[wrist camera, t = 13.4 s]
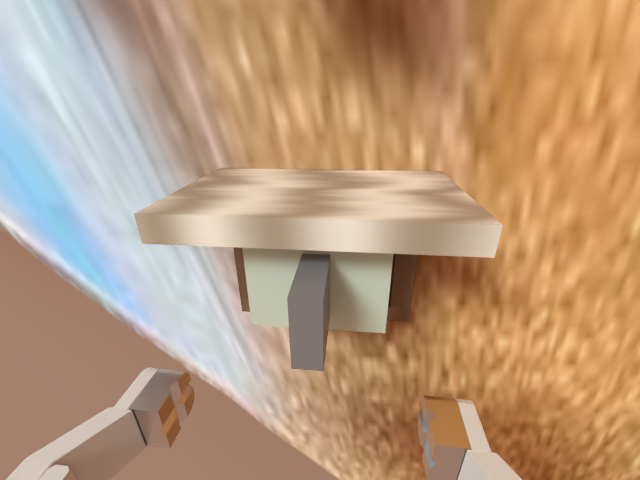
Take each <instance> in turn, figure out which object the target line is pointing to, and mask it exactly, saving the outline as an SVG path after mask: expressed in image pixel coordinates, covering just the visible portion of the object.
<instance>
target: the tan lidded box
mask: <svg viewBox="0 0 640 480" xmlns="http://www.w3.org/2000/svg"><path fill="white" fill-rule="evenodd" d="M134 215H135V219H136V223H137V226H138V230H139V234H140V237H141V241H142V244H165V245H190V246H215V247H234V254H235V261H236V269H237V276H238V283H239V291H240V298H241V305H242V311H248V312H250V307H249V299H248V291H247V283H246V274H245V266H244V258H243V250H242V248H264V249H289V250H314V251H339V252H363V253H388V254H393V263H392V272H391V282H390V292H389V302H388V311H387V320H397V321H409V318H410V310H411V303H412V296H413V289H414V282H415V275H416V268H417V261H418V255H438V256H462V257H487V258H495V254H496V250H497V246H498V242H499V238H500V234H501V230H502V226H503V225H502V224H501V223H500V222H499V221H497V220H496V219H495V218H494V217H493V216H492V215H491V214H489V213H488V212H487V211H486V210H485V209H484V208H483V207H482V206H480V205H479V204H478V203H477V202H476V201H475V200H474V199H472V198H471V197H470V196H469V195H468V194H467V193H466V192H464V191H463V190H462V189H461V188H460V187H459V186H458V185H456V184H455V183H454V182H453V181H452V180H451V179H450V178H448V177H447V176H446V175H445V174H444V173H443V172H438V171H372V170H307V169H241V168H219V169H218V170H216V171H214V172H212V173H210V174H208V175H206V176H204V177H203V178H201V179H199V180H197V181H195V182H193V183H191V184H189V185H187V186H186V187H184V188H182V189H180V190H178V191H176V192H174V193H172V194H171V195H169V196H167V197H165V198H163V199H161V200H159V201H157V202H155V203H154V204H152V205H150V206H148V207H146V208H144V209H142V210H140V211H139V212H137V213H135V214H134Z"/></svg>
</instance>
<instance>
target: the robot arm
mask: <svg viewBox="0 0 640 480" xmlns="http://www.w3.org/2000/svg"><path fill="white" fill-rule="evenodd" d="M190 380H191V378H190V375H189V373H188V372H180V371H172V370H165V369H157V368H146V369H144V370H143V371H142V372H141V373H140V374H139V376H138V377H137V378H136V380H135V381H134V382H133V383H132V385H131V386H130V387H129V389H128V390H127V391H126V392H125V393H124V395H123V396H122V397H121V398H120V400H119V401H118V402H117V403H116V405H115V406H114V407H113V408H111V407H109V408H107V409H106V410H104V411H103V412H101V413H99V414H97V415H96V416H94V417H93V418H91V419H89V420H88V421H86V422H84V423H83V424H81V425H79V426H78V427H76V428H74V429H73V430H72V431H70V432H68V433H66V434H65V435H63V436H61V437H60V438H58V439H56V440H55V441H53V442H52V443H50V444H48V445H47V446H45V447H43V448H42V449H40V450H39V451H37V452H35V453H34V454H32V455H30V456H29V457H27V458H26V459H25V460H24V461H23V462H22V463H21V464H20V465H19V466H18V467H17V468H16V469H15V471H14V472H13V473H12V474H11V475H10V476H9V477H8V478H7V479H6V480H110V479H111V478H112V477H113V476H115V475H116V474H117V473H118V472H119V471H120V470H121V469H122V468H124V467H125V466H126V465H127V464H128V463H129V462H131V461H132V460H133V459H134V458H135V457H136V456H137V455H139V453H141V452H142V451H143V450H144V449H145V448H146V446H152V447H163V448H171V446H172V444H173V442H174V441H175V439H176V437H177V435H178V433H179V431H180V430H181V426H180V422H181V421H182V420H184V419H185V418H186V417H188V415H189V413H190V411H191V409H192V405H193V402H194V389H193V387H191V386H190V385H189V384H188V383H189V382H190ZM421 407H422V410H421V411H420V412H419V416H418V436H419V443H420V445H421V446H422V447H423V449H424V452H423V457H422V461H423V467H424V473H425V479H426V480H522V479H521V478H520V477H519V476H518V475H517V474H516V472H515V471H514V470H513V469H512V468H511V467H510V466H509V465H508V464H507V463H506V462H505V461H504V460H503V459H502V458H501V457H500V456H499V455H498V454H497V453H493V452H491V449H490V446H489V443H488V441H487V438H486V435H485V432H484V430H483V427H482V424H481V421H480V419H479V416H478V413H477V410H476V408H475V405H474V403H473V402H472V401H471V400H463V399H454V398H446V397H434V396H423V397H422V400H421Z"/></svg>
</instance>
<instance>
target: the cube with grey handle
mask: <svg viewBox="0 0 640 480" xmlns="http://www.w3.org/2000/svg"><path fill="white" fill-rule="evenodd" d="M242 250H243V258H244V266H245V274H246V283H247V291H248V299H249V307H250V315H251V323H252V325H264V326H279V327H289V336H290V352H291V368H292V369H304V370H317V371H323V370H324V361H325V353H326V344H327V336H328V330H341V331H357V332H372V333H385V331H386V321H387V311H388V302H389V292H390V282H391V272H392V263H393V254H388V253H363V252H339V251H314V250H289V249H264V248H242Z"/></svg>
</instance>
